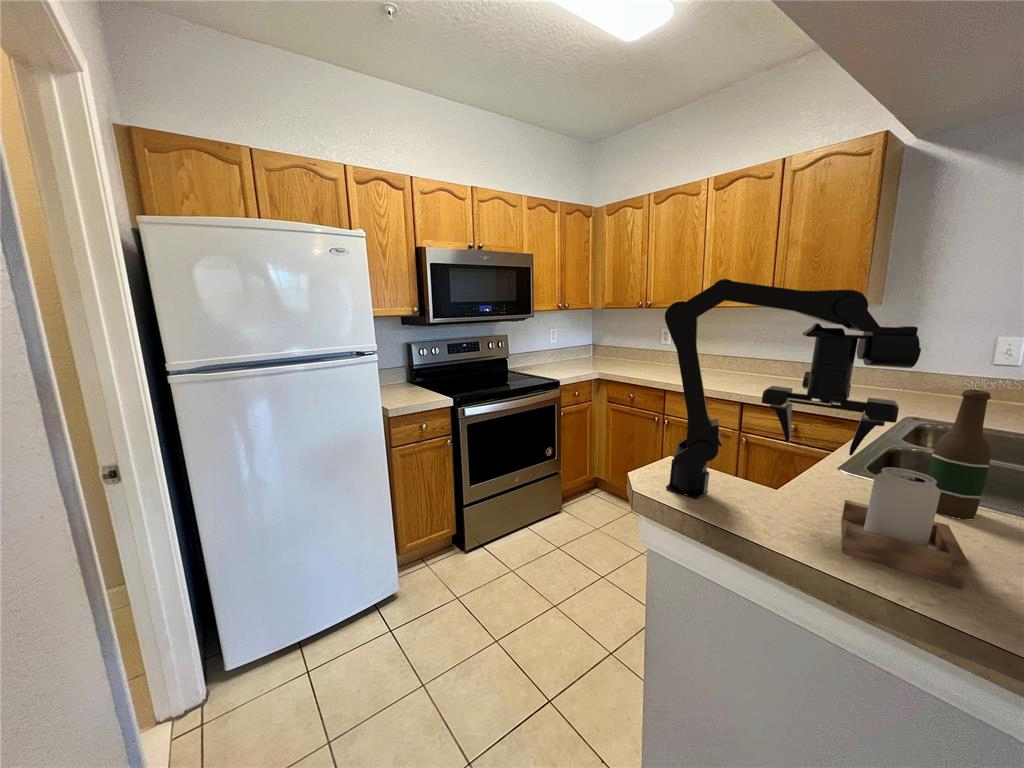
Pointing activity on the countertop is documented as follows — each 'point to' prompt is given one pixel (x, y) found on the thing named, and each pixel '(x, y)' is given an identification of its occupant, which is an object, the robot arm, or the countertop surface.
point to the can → (903, 505)
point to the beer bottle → (962, 459)
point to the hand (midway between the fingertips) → (817, 448)
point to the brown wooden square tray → (905, 548)
